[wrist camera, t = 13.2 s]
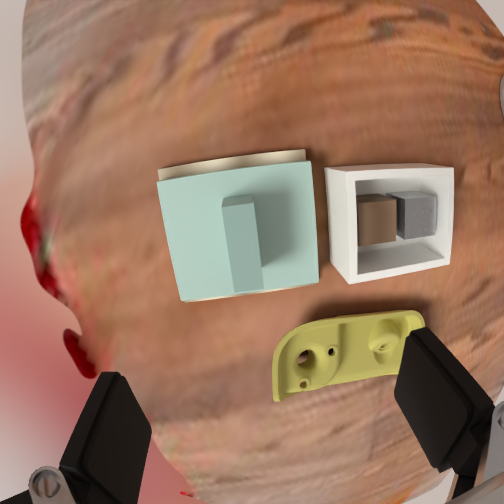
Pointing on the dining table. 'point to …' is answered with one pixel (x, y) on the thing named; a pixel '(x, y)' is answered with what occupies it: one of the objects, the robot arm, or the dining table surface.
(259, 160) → the board
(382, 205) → the walnut block
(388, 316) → the plastic component
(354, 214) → the tub
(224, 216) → the lid
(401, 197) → the steel block
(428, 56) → the dining table surface
